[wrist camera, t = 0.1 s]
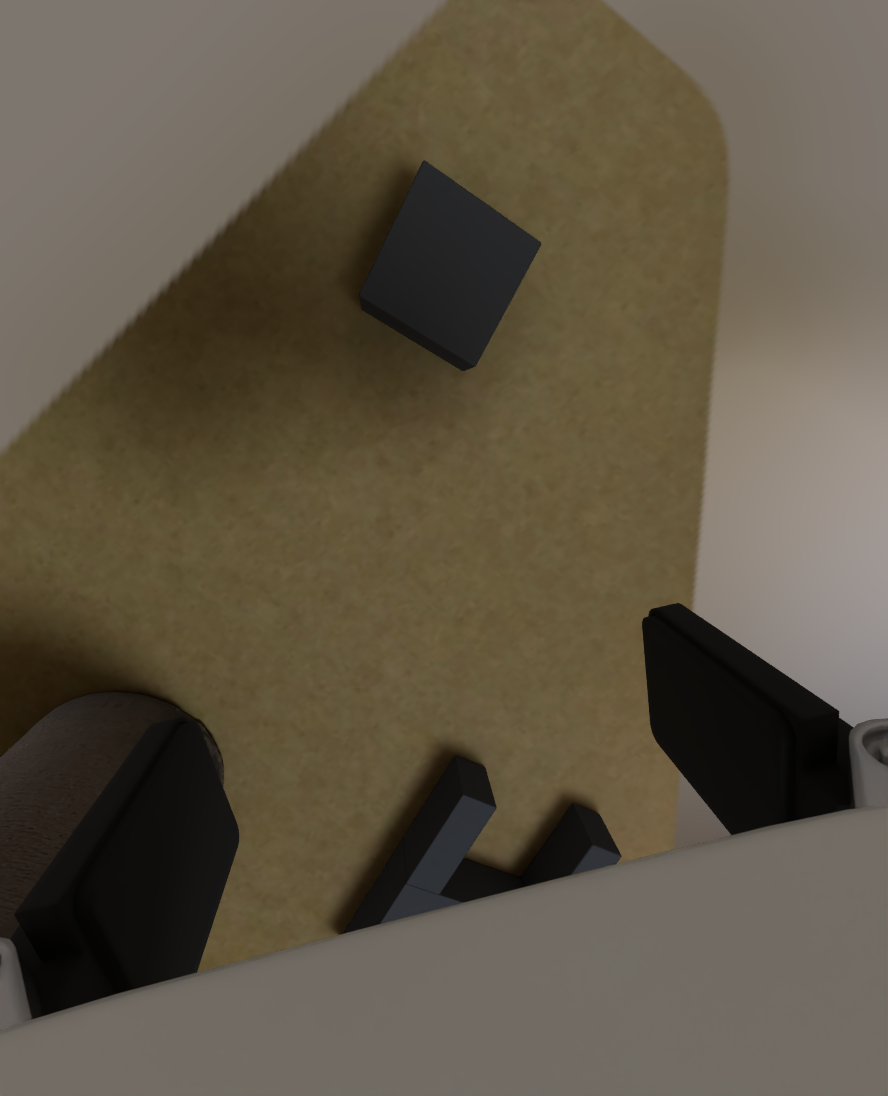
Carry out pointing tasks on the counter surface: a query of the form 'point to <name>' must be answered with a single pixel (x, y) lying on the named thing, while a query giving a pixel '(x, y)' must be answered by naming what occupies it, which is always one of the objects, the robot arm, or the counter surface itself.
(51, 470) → the counter surface
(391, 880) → the large pad
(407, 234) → the small pad
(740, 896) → the robot arm
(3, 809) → the pillar candle
